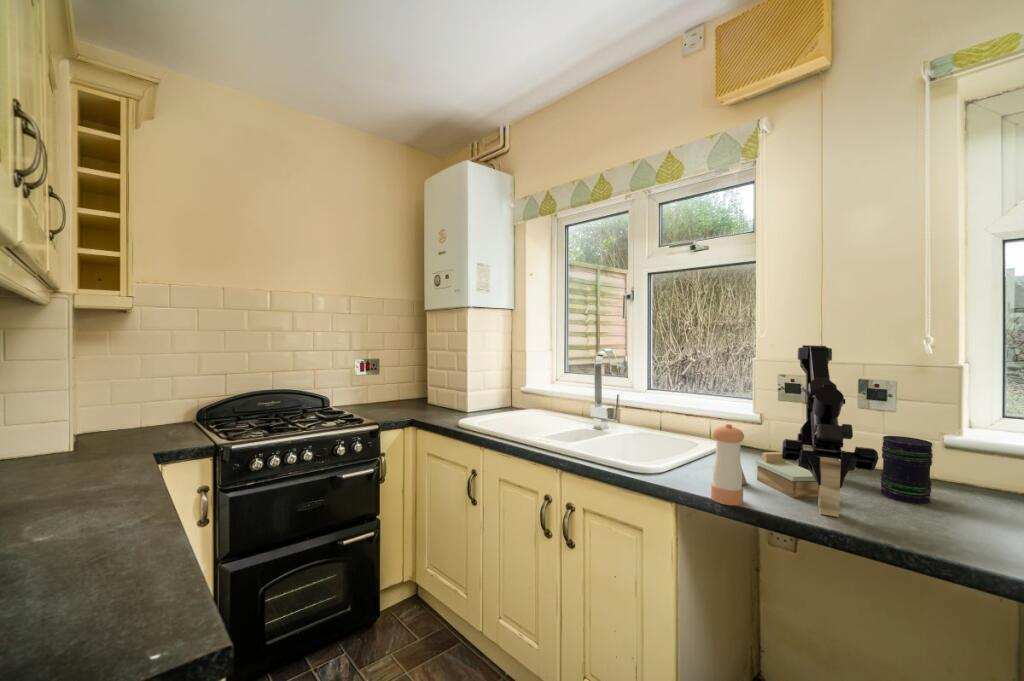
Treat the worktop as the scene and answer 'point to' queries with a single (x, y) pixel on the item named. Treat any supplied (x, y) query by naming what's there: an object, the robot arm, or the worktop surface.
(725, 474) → the pepper shaker
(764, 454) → the lid
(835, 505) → the brown box
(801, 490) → the wooden box tray
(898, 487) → the storage jar
